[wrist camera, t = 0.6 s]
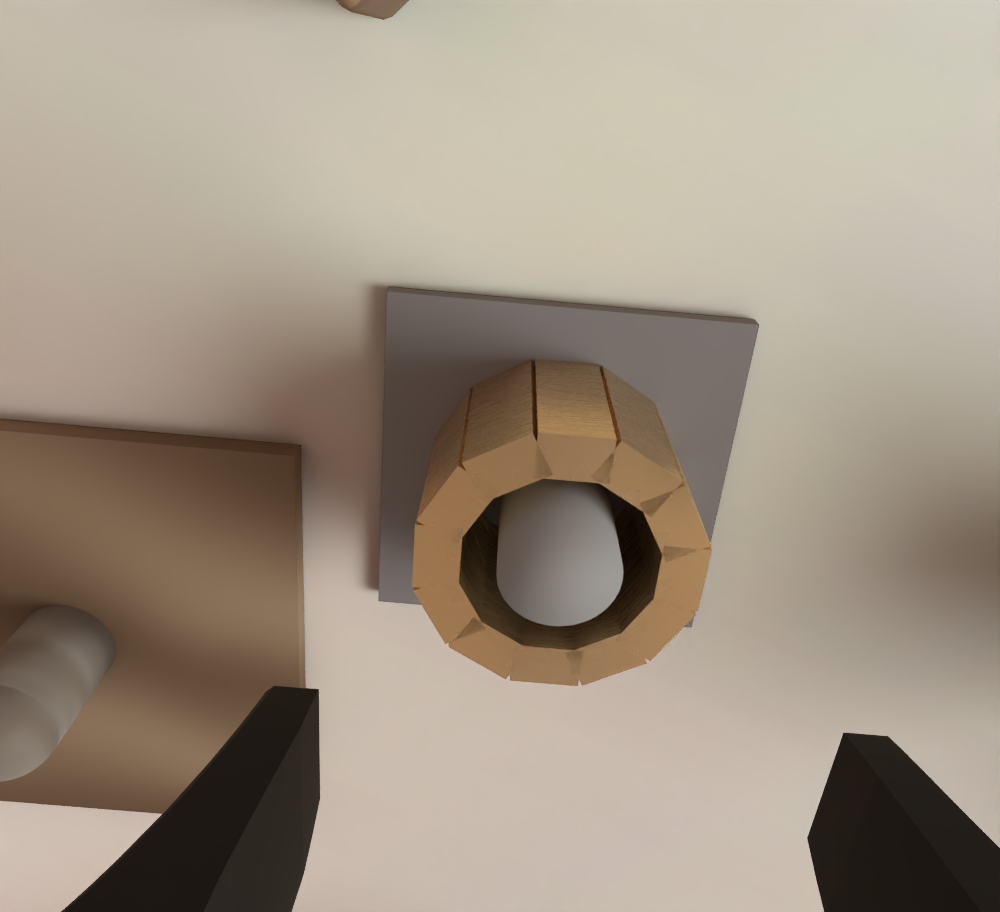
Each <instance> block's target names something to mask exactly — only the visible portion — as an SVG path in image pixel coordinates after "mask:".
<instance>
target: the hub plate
mask: <svg viewBox="0 0 1000 912" xmlns="http://www.w3.org/2000/svg"><path fill="white" fill-rule="evenodd" d="M273 686H284V687H296V688H305V640H304V588H303V537H302V485H301V445H292V444H281V443H269V442H257V441H246V440H234V439H223V438H211V437H200V436H188V435H177V434H165V433H154V432H142V431H131V430H119V429H108V428H96V427H85V426H73V425H62V424H50V423H39V422H27V421H16V420H4V419H0V801H11V802H24V803H36V804H48V805H61V806H73V807H86V808H98V809H110V810H123V811H135V812H148V813H160V814H163V813H164V812H165V811H166V810H167V809H168V808H169V807H170V806H171V804H172V803H173V802H174V801H175V800H176V799H177V798H178V797H179V796H180V794H181V793H182V792H183V791H184V790H185V789H186V788H187V787H188V786H189V784H190V783H191V782H192V781H193V780H194V779H195V778H196V777H197V775H198V774H199V773H200V772H201V771H202V770H203V769H204V768H205V766H206V765H207V764H208V763H209V762H210V761H211V760H212V758H213V757H214V756H215V755H216V754H217V752H218V751H219V750H220V749H221V748H222V747H223V745H224V744H225V743H226V742H227V741H228V739H229V738H230V737H231V736H232V734H233V733H234V732H235V731H236V730H237V728H238V727H239V726H240V725H241V723H242V722H243V721H244V720H245V718H246V717H247V716H248V714H249V713H250V712H251V711H252V709H253V708H254V707H255V705H256V704H257V703H258V701H259V700H260V699H261V697H262V696H263V695H264V694H265V692H266V691H267V690H269V689H270V688H272V687H273Z"/></svg>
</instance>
